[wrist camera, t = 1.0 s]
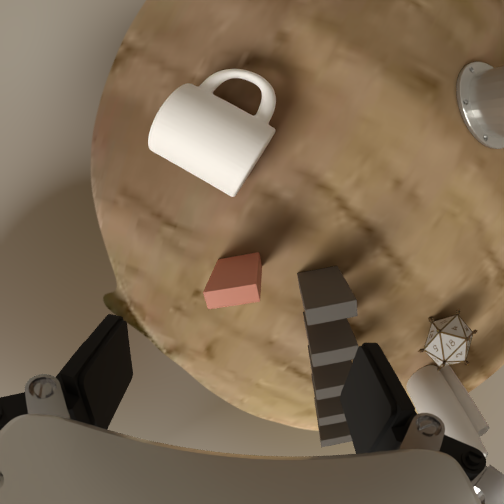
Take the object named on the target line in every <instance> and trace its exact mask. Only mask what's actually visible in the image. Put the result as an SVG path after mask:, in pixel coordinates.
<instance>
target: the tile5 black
mask: <svg viewBox="0 0 504 504" xmlns="http://www.w3.org/2000/svg"><path fill="white" fill-rule="evenodd" d="M312 382H313V388H314V394H315V401H316V407H317V414H318V420H319V426H324V425H329V424H334V423H339V422H344V421H346V418H345V414H344V411H343V408H342V405H341V401H340V396H336V397H331V398H326V399H321V400H317V399H316V393H315V387H314V381H313V375H312Z"/></svg>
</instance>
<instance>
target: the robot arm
mask: <svg viewBox="0 0 504 504" xmlns="http://www.w3.org/2000/svg"><path fill="white" fill-rule="evenodd" d="M456 90H457V100H458V105H459V109H460V112H461V115H462V117H463V120H464V122H465V124H466V125H467V127H468V129H469V131H470V132H471V133H472V135H473V136H474V137H475V138H476V139H477V140H478V141H479V142H480V143H482V144H483V145H485V146H487V147H489V148H495V149H502V148H504V66H501V67H497V68H493V67H492V66H490V65H489V64H487V63H483V62H473V63H470V64H467V65H466V66H465V67H463V68H462V70H461V71H460V73H459V76H458V79H457V87H456ZM132 376H133V370H132V362H131V355H130V347H129V339H128V329H127V322H126V321H124V320H123V318H122V317H121V316H116V315H111V314H108V315H107V316H106V317H105V319H104V320H103V321H102V322H101V323H100V324H99V326H98V327H97V328H96V329H95V331H94V332H93V333H92V334H91V335H90V336H89V338H88V339H87V340H86V341H85V342H84V343H83V344H82V345H81V346H80V347H79V349H78V350H77V351H76V352H75V354H74V355H73V356H72V357H71V358H70V360H69V361H68V362H67V364H66V365H65V366H64V367H63V369H62V370H61V371H60V373H59V374H58V375H57V376H56V378H55V377H54V376H51V375H47V374H41V375H37V376H34V377H32V378H31V379H30V380H29V381H28V382H27V383H26V386H25V392H24V393H19V394H15V395H10V396H6V397H1V398H0V504H504V475H503V474H502V473H501V472H499V471H498V470H497V469H495V468H494V467H493V466H491V465H489V466H488V467H487V466H486V459H485V456H484V454H483V453H482V452H481V451H480V450H479V449H477V448H475V447H472V446H470V445H468V444H465V443H463V442H460V441H458V440H456V439H454V438H451V437H449V436H447V435H445V434H444V433H445V426H444V423H443V422H442V420H441V419H440V418H438V417H437V416H435V415H433V414H430V413H420V414H417V413H416V412H415V408H414V406H413V404H412V402H411V400H410V398H409V397H408V395H407V393H406V391H405V389H404V388H403V386H402V384H401V382H400V381H399V379H398V377H397V375H396V374H395V372H394V370H393V368H392V367H391V365H390V363H389V362H388V360H387V358H386V356H385V355H384V353H383V351H382V350H381V348H380V346H379V345H378V344H377V343H363V345H362V346H359V347H358V349H357V352H356V355H355V357H354V360H353V363H352V366H351V368H350V371H349V374H348V376H347V379H346V381H345V384H344V386H343V389H342V391H341V395H340V401H341V405H342V408H343V411H344V414H345V418H346V421H347V424H348V428H349V431H350V434H351V438H352V441H353V444H354V448H355V451H356V454H348V455H333V456H313V457H311V456H309V457H283V456H257V455H242V454H230V453H221V452H213V451H205V450H198V449H192V448H186V447H180V446H174V445H169V444H164V443H159V442H154V441H150V440H146V439H141V438H137V437H133V436H129V435H125V434H121V433H118V432H114V431H110V430H107V429H108V426H109V424H110V422H111V420H112V418H113V416H114V414H115V412H116V410H117V408H118V406H119V404H120V402H121V400H122V398H123V396H124V394H125V392H126V390H127V387H128V386H129V383H130V382H131V379H132Z"/></svg>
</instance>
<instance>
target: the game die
mask: <svg viewBox="0 0 504 504" xmlns="http://www.w3.org/2000/svg"><path fill="white" fill-rule="evenodd" d="M456 313H457V314H456V315H453V316H449V317H446V318H443V319H439V320H436V321H433V320H432V318H429V321H430V322H431V327H430V330H429V333H428V337H427V340H426V343H425V346H424V349H420V350H419V351H418V352H423V351H425V352H426V353H427V354H428V355H429V356H430V357H431V359H432V360H433V361H434V362H435V363H436V364H437V365H438V366H439V367H438V369H437V371H440V369H441V367H444V366H448V365H452V364H457V363H461V362H465V364H466V365H469V363H468V361H466V358H467V355H468V351H469V348H470V344H471V340H472V336H473V334H475V333H476V332H477V330H474V331H471V329H470V328H469V327H468V326H467V324H466V323H465V322H464V321H463V320H462V318H461V317H460V316H459V313H460V309H458V310H457V312H456Z"/></svg>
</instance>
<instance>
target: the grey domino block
mask: <svg viewBox="0 0 504 504" xmlns="http://www.w3.org/2000/svg"><path fill="white" fill-rule="evenodd" d="M314 399H315V398H314ZM315 407H316V401H315ZM316 414H317V407H316ZM317 420H318V414H317ZM318 427H319V434H320V441H321V447H325V446H330V445H336V444H340V443H345V442H350V441H352V438H351V434H350V431H349V428H348V424H347V421H344V422H339V423H334V424H329V425H324V426H319V420H318Z"/></svg>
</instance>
